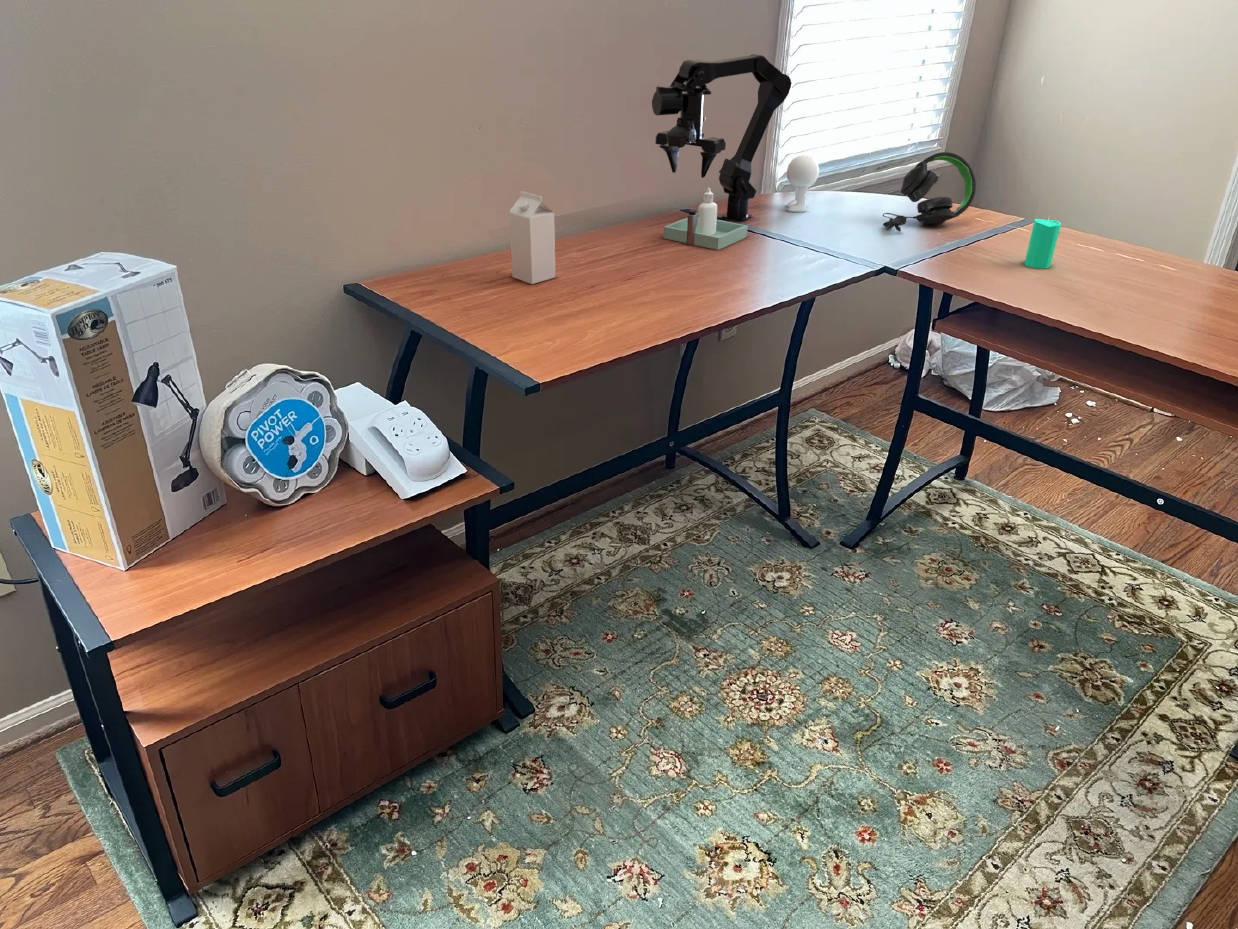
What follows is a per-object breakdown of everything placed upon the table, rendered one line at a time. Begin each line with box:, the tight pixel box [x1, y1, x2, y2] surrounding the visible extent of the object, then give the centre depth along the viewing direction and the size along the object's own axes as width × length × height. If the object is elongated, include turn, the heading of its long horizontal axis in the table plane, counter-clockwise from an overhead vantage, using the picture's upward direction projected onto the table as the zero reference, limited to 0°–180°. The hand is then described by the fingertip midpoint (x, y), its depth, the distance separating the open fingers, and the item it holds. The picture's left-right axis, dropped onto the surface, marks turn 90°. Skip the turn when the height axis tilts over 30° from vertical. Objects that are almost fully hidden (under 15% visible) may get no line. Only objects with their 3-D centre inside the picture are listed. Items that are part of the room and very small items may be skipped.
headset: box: [881, 151, 977, 233], centre depth 247 cm, size 18×14×29 cm
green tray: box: [663, 217, 749, 251], centre depth 238 cm, size 15×17×3 cm
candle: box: [1023, 214, 1062, 270], centre depth 219 cm, size 6×6×12 cm
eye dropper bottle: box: [697, 187, 718, 235], centre depth 236 cm, size 4×6×12 cm
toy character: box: [786, 155, 820, 213], centre depth 262 cm, size 9×9×15 cm
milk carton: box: [508, 190, 556, 285], centre depth 204 cm, size 7×7×19 cm
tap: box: [685, 209, 700, 246], centre depth 232 cm, size 4×2×8 cm, turn 143°
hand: (688, 174), depth 244 cm, fingers open, 9 cm apart
